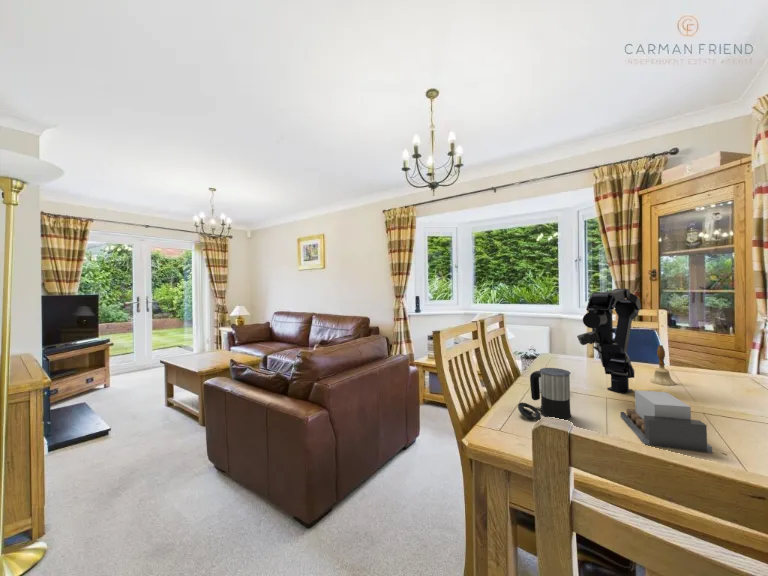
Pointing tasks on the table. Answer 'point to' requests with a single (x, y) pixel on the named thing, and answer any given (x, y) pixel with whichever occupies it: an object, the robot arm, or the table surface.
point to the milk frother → (549, 394)
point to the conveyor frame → (672, 433)
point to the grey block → (660, 405)
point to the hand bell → (662, 370)
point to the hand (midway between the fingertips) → (604, 366)
